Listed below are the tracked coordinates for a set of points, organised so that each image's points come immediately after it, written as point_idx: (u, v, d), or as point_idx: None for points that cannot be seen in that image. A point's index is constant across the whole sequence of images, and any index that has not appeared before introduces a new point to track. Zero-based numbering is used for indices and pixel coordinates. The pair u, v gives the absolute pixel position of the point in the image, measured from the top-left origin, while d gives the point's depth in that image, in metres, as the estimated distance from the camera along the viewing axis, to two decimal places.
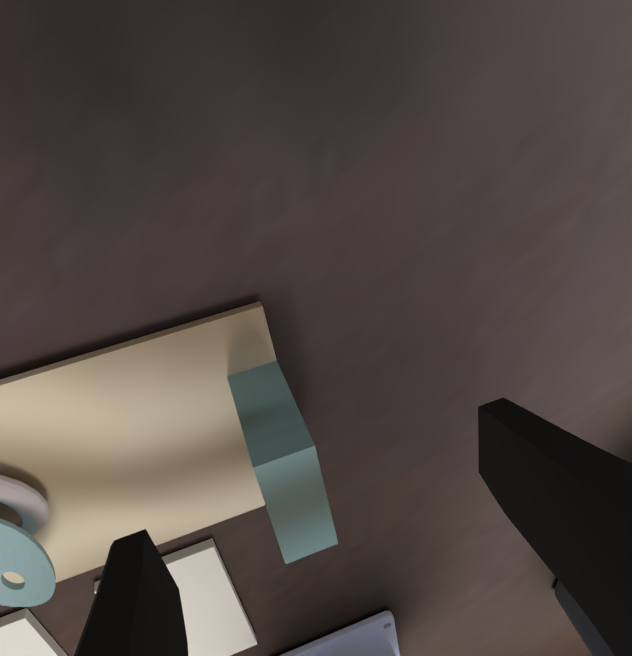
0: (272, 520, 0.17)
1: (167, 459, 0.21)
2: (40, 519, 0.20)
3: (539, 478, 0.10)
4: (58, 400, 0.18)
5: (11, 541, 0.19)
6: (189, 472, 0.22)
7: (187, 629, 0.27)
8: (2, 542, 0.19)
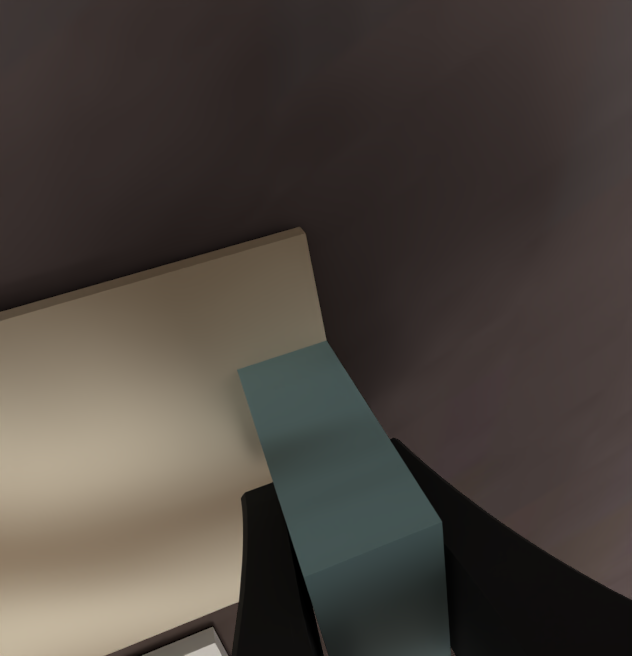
0: None
1: (131, 516, 0.12)
2: None
3: None
4: None
5: None
6: (172, 535, 0.13)
7: None
8: None
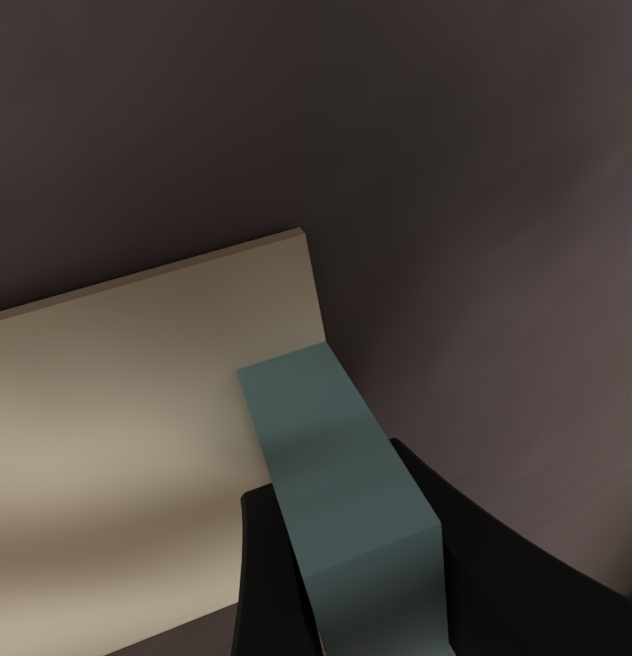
0: None
1: (130, 516, 0.12)
2: None
3: None
4: None
5: None
6: (170, 535, 0.13)
7: None
8: None
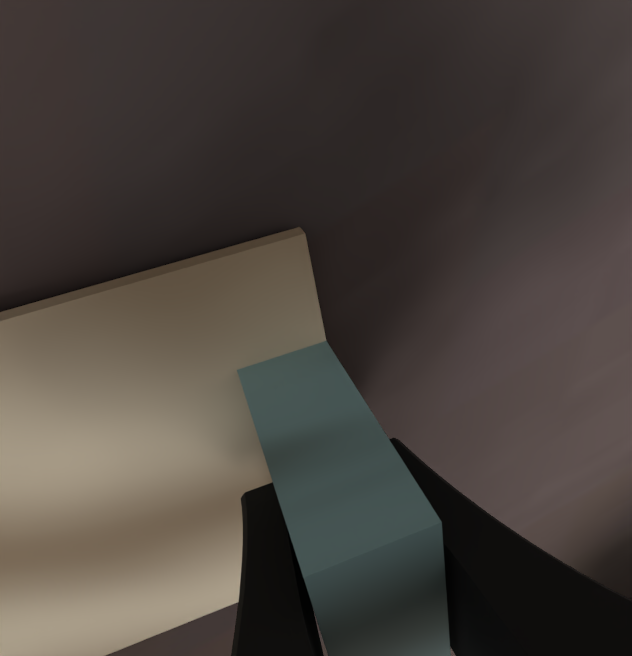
0: None
1: (131, 516, 0.12)
2: None
3: None
4: None
5: None
6: (172, 535, 0.13)
7: None
8: None
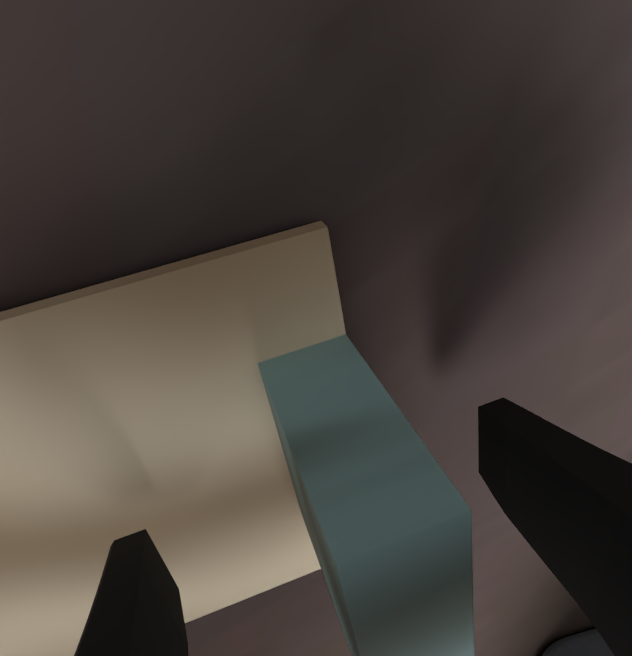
0: None
1: (151, 509, 0.12)
2: None
3: (539, 478, 0.10)
4: None
5: None
6: (190, 528, 0.13)
7: None
8: None
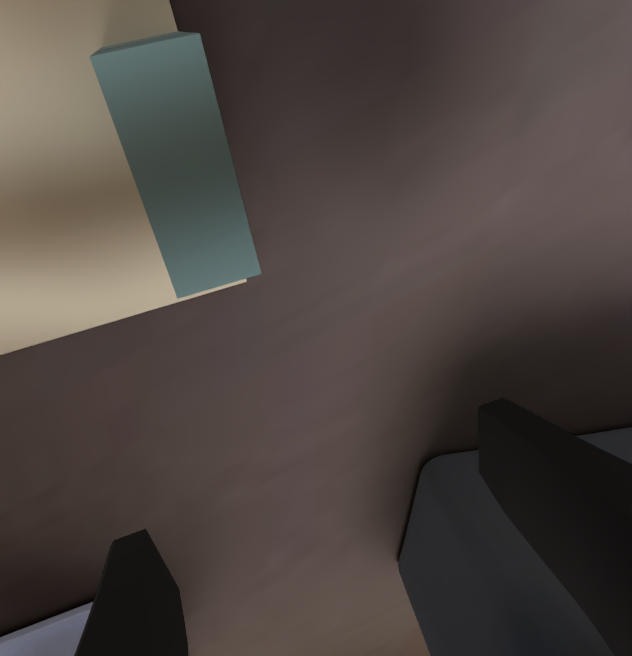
0: (142, 195, 0.11)
1: (23, 192, 0.14)
2: None
3: (539, 478, 0.10)
4: None
5: None
6: (61, 222, 0.15)
7: None
8: None
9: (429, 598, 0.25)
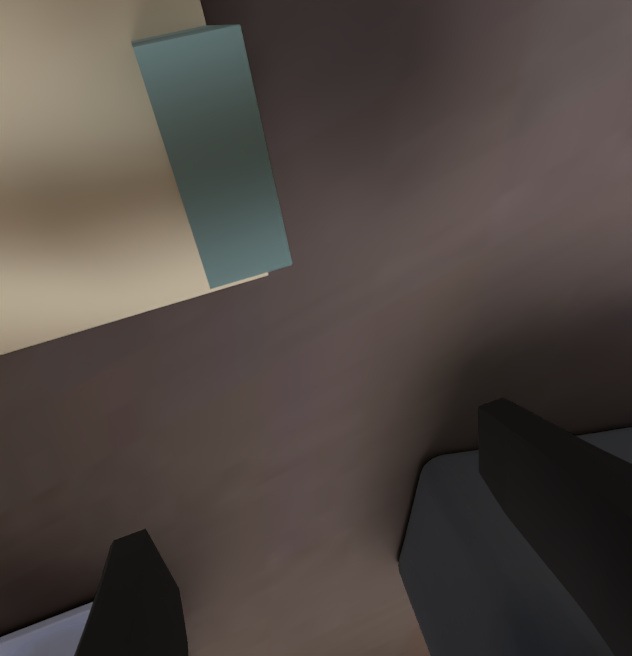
0: (179, 185, 0.11)
1: (51, 185, 0.15)
2: None
3: (539, 478, 0.10)
4: None
5: None
6: (89, 215, 0.15)
7: None
8: None
9: (429, 598, 0.25)
